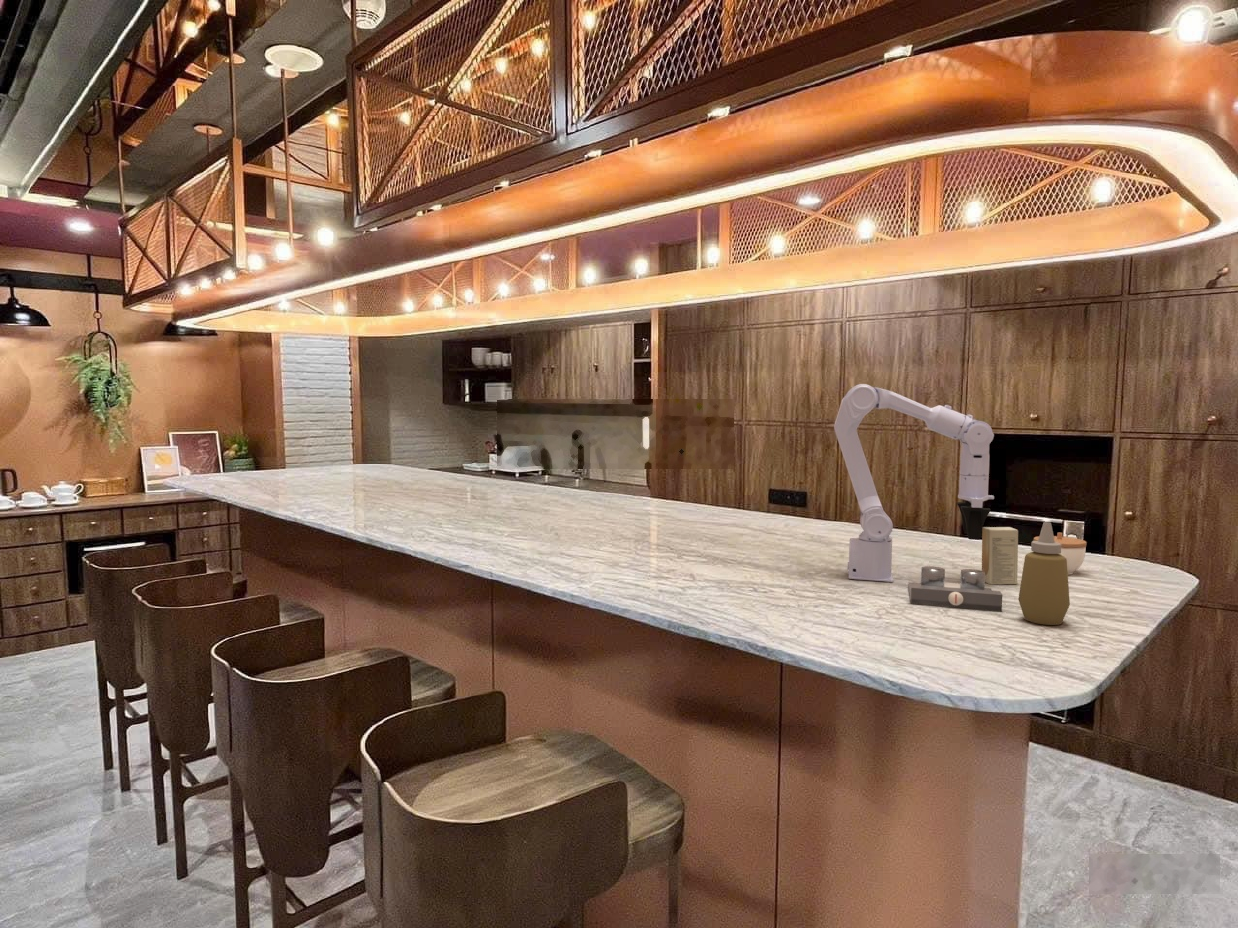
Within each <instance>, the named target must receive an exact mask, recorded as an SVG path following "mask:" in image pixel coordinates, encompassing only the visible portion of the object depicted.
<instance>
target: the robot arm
mask: <svg viewBox="0 0 1238 928" xmlns="http://www.w3.org/2000/svg"><path fill="white" fill-rule="evenodd" d="M873 409H876V410H881V409H891V410H894V411H896V412H900V413H902V414H904V415H908V416H910V417H913V418H915V419H918V420H921V421H924V423H925V425H926V428H927V430H930V431H932V432H935V433H937V434H939V435H943V436H944V437H948V438H950V439H952V440H955V441H956V440H959V442H960V443H961V447H960V448H961V450H960V452H961V453H960V454H959V455H960V457H959V458H960V460H959V461H960V462H959V485H958V488H959V489H958V495H957V498H958V499H960V500H963V501H957V502H956V505H957V507H958V509H959V512H960V515H961V521H962V527H963V532H964V534H967V538H968V540H974V541H978V540H980V538H981V537H982V529H983V527H984V524H985V522H986V519H987V518H988V516H989V514H990V512H991V509H990V508H989V507H987V508H986V507H985V505H986V503H985V502H987V501H988V500H994V499H995V496H994V494H993V495H992V494H991V495H990V494H989V479H990V477H989V476H990V475H989V474H990V444H991V442H993V440H994V437H995V434H994V432H993V429H992V427H991V425H990V424H988V423H987V422H986V421H983V420H977V419H974V415H971V414H968V413H967V415H966V414H963V413H962V412H959V411H956V410H954V409H952V406H950V405H949V404H945V405H944V406H943V405H941V404H938V405H937V406H934V407H929V406H927V405H924V404H922V403H920V402H917V401H915V400H912V399H910V398H908V397H906V396H903V395H902V394H899V393H896V392H895V391H892V390H888V389H885V388H880V387H877V386H875V387H873V386H871V385H869V384H866V383H860V384H857V385H855V386H853V387H851V388H850V389H849V390H848V391H847V392H846V394H845V395H844V397H843V398H842V399H841V401H840V405H839V408H838V412H837V415H836V417H835V422H834V425H833V430H834V433H835V435H836V436H835V437H836V438H837V441H838V442H837V443H838V444H839V447H840V450H841V453H842V457H843V460H844V463H845V466H846V469H847V472H848V475H849V478H850V481H851V484H852V487H853V490H854V494H855V497H856V499H857V504H858V507H859V510H860V517H859V523H860V526H861V528H862V530H863V531H861V532H860V534H858V537H856V538H855V537H851V538H850V537H849V545H848V546H849V547H848V548H849V550H848V562H847V571H848V577H847V578H848V579H849V580H850V579H851V580H861V581H863V580H864V581H873V582H875V581H876V582H886V583H887V582H888V583H893V582H894V572H892V567H893V562H892V559H893V537H892V536H890V535H891V534H892V532H893V530H894V529H893V527H894V525H893V521H892V519H891V517H890V516H889V515H888V514H887V513H886V512H885V511H884V508H883V505H882V502H881V500H880V497H879V495H878V492H877V489H876V485H875V483H874V479H873V476H872V473H871V470H870V468H869V464H868V462H867V459H866V455H865V453H864V449H863V446H862V442H861V440H860V436H859V433H858V431H857V430H858V428H859V426H860V424H861V423H862V421H863V419H864V417H865V416H866V415H867V414H869V413H870V412H871V411H873ZM984 507H985V508H984Z"/></svg>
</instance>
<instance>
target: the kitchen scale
mask: <svg viewBox="0 0 1238 928" xmlns="http://www.w3.org/2000/svg"><path fill="white" fill-rule="evenodd" d="M907 584H908V585H907V586H908V587H907V588H908V594H909V601H910V604H911V605H922V606H931V607H945V608H953V609H954V608H956V609H966V610H980V611H991V612H1000V613H1001V612H1003V594H1002V592H1001V591H1000V590H992V588H991V587H990V588H989V587H985V588H984V590H976V589H963V588H960V583H957V582H956V583H955V582H945V581H944V587H938V586H925V585H921V582H912V581H911V582H910V581H908V583H907Z"/></svg>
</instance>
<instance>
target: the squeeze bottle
mask: <svg viewBox="0 0 1238 928" xmlns="http://www.w3.org/2000/svg"><path fill="white" fill-rule="evenodd" d="M1042 523H1043V524H1042V527H1041V530H1040V534H1039V539H1038V541H1034V540H1032V541H1031V544H1030V546H1031V549H1030V552H1028V553H1026V554H1025V555H1024V560H1023V567H1022V573H1021V579H1020V580H1021V581H1020V586H1019V592H1018V603H1019V606H1020V609H1021V613H1022V616H1023V619H1025V620H1026V621H1028V622H1031V623H1034V624H1037V625H1045V626H1046V625H1047V626H1057V625H1061V624H1062V623H1063V621H1064V619H1065V617H1066V614H1067V613H1068V611H1069V608H1070V605H1071V601H1070V586H1069V575H1068V570H1067V559H1066V558H1065V557H1064V556H1062V555H1060V554H1059V553H1061V544H1060V543H1057V542H1055V540H1054V536H1055V535H1054V531H1053V526H1052V523H1051V522H1049V521H1048V522H1047V521H1046V522H1045V521H1044V522H1042Z"/></svg>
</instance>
